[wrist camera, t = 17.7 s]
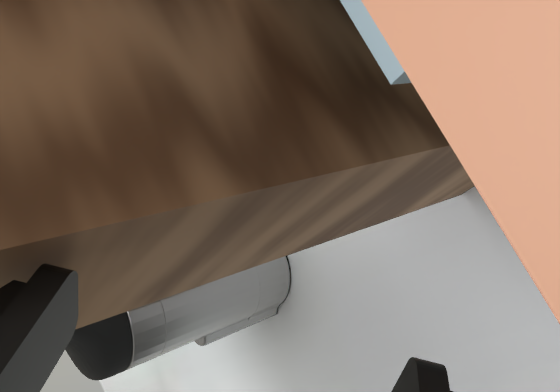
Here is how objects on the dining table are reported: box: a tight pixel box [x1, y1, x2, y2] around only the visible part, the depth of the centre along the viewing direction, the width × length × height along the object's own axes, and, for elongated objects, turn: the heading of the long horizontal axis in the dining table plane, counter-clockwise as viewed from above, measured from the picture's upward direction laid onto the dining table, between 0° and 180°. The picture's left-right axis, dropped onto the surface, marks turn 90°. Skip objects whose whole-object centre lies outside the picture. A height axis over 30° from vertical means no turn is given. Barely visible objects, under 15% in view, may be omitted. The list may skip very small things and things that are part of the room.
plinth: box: [0, 0, 475, 329], centre depth 26 cm, size 18×10×32 cm, turn 42°
